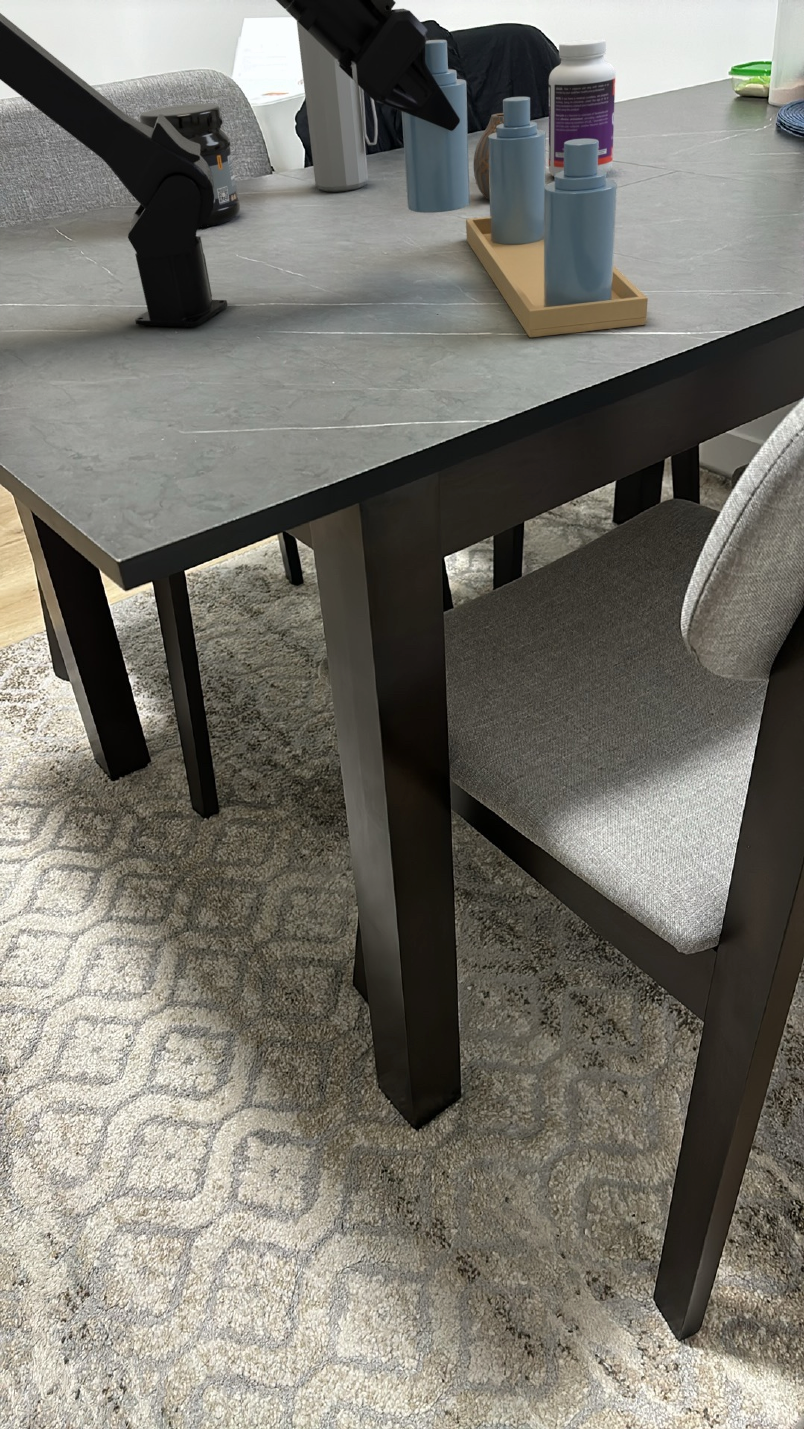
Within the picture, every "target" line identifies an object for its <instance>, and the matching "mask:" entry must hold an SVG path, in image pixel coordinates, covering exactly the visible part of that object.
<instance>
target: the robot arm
mask: <svg viewBox="0 0 804 1429" xmlns="http://www.w3.org/2000/svg"><path fill="white" fill-rule="evenodd" d="M275 1H276V2H277V3H278V4H279V5H280V6H281V7H282V8H283V9H284V10H285V11H286V12H287V13H288V14H289V15H290V16H291V17H292V18H293V19H294V20H295V21H296V23H297V22H298V23H300V24H301V25H302V26H303V27H304V28H305V29H306V30H307V31H308V32H309V33H310V34H311V35H312V36H313V37H314V38H315V39H316V40H317V41H318V42H319V43H320V44H321V45H322V46H323V47H324V48H325V49H326V50H327V51H328V52H329V53H330V54H331V55H332V56H333V57H334V58H335V59H336V64H337V65H338V66H339V67H340V68H341V69H342V70H343V71H344V72H345V73H346V74H347V75H348V76H350V77H351V78H352V79H353V80H354V81H355V82H356V83H357V84H358V85H359V86H360V87H361V88H362V89H363V92H364V93H366V94H367V95H368V96H369V98H370V97H371V98H372V99H373V100H374V103H376V102H377V103H378V104H382V105H385V106H387V107H390V108H392V109H395V110H397V111H399V112H401V113H402V112H405V113H407V114H410V115H412V116H415V117H418V118H420V119H423V120H425V121H428V122H430V123H433V124H435V125H438V126H440V127H443V128H445V129H447V130H450V131H453V130H454V129H455V128H456V127H457V125H458V124H459V123H460V118H459V117H458V115H457V114H456V112H455V110H454V109H453V107H452V106H451V104H450V102H449V101H448V99H447V98H446V96H445V95H444V93H443V91H442V90H441V88H440V87H439V85H438V83H437V82H436V80H435V79H434V77H433V75H432V74H431V72H430V71H429V69H428V67H427V65H426V53H425V44H426V41H427V32H428V28H427V27H426V26H425V25H424V24H423V23H422V22H421V21H420V19H418V18H417V16H416V15H415V14H413V12H412V11H411V10H409V9H406V8H394V6H395V5H396V4H397V3H396V1H395V0H275ZM393 8H394V9H393ZM0 81H2V83H4V84H5V85H6V86H8V87H9V88H11V89H12V90H13V91H14V92H15V93H17V94H18V95H19V96H20V97H21V98H23V99H24V100H25V101H27V102H29V104H31V105H32V106H33V107H34V108H36V109H37V110H39V111H40V112H41V113H43V114H44V115H45V116H46V117H48V118H49V119H51V120H52V121H53V122H54V123H55V124H57V125H58V126H59V127H61V129H63V130H64V131H66V132H67V133H68V134H70V135H71V136H72V137H73V138H75V139H76V140H77V141H79V142H80V143H81V144H82V145H84V146H85V147H86V148H88V149H89V150H90V151H91V152H92V153H94V154H95V155H97V156H98V157H99V158H101V160H102V161H104V163H105V164H106V165H107V166H108V167H109V169H110V170H111V171H112V172H113V173H114V175H115V176H116V177H117V179H118V180H119V181H120V182H121V183H122V185H123V186H124V187H125V188H126V190H127V191H128V193H129V194H131V196H132V197H133V198H134V199H135V200H136V201H137V203H139V205H138V207H137V209H136V210H135V211H134V213H133V216H132V219H131V224H130V226H129V231H128V235H127V239H128V241H129V242H130V244H131V246H132V247H133V250H134V251H135V254H134V255H135V260H136V265H137V269H138V274H139V278H140V282H141V287H142V291H143V296H144V300H145V305H146V310H147V311H146V312H144V313H142V314H141V315H139V316H137V317H136V318H135V320H134V321H135V325H137V326H156V327H157V326H163V327H192V328H193V327H199V326H200V325H201V324H203V323H204V322H206V321H208V320H209V319H210V318H212V317H213V316H215V315H217V314H218V313H219V312H221V311H223V310H224V309H225V308H226V307H228V305H229V304H228V301H227V300H226V299H213V294H212V289H211V288H212V287H211V284H210V278H209V272H208V267H207V262H206V261H207V260H206V255H205V253H204V248H203V243H202V237H201V236H200V235H197V232H198V229H200V228H199V227H201V226H202V225H203V224H204V223H205V222H206V221H207V220H208V219H209V217H210V215H211V212H212V210H213V205H214V182H213V176H212V172H211V169H210V167H209V165H208V164H207V162H206V161H205V160H204V159H203V157H202V156H201V155H200V144H198V143H195V142H192V141H190V140H188V139H186V138H185V137H183V136H182V135H181V134H180V133H179V132H178V131H177V130H176V129H175V128H174V127H173V126H172V124H171V123H170V122H169V121H168V120H167V119H166V118H165V117H164V116H163V115H162V114H160V115H159V116H158V119H157V121H156V124H155V127H154V128H152V127H149V126H147V125H145V124H143V123H141V122H140V120H136V119H135V118H133V117H131V116H129V115H128V114H126V113H125V112H123V111H122V110H121V109H120V108H119V107H117V106H116V105H114V104H113V103H112V102H111V101H110V100H109V99H108V98H106V97H105V96H104V95H102V94H101V93H100V92H99V91H98V90H96V89H95V88H94V87H92V85H90V84H89V83H87V81H85V80H84V79H83V78H81V76H79V75H78V74H77V73H75V72H74V71H73V70H72V69H71V68H69V67H68V66H67V65H66V64H64V63H63V62H61V60H59V59H58V58H57V57H55V56H54V55H53V54H52V53H51V52H49V51H48V50H47V49H45V47H43V46H42V45H41V44H40V43H38V42H37V41H36V40H34V39H33V38H32V37H31V36H30V35H28V34H27V33H26V32H24V31H23V30H22V29H21V28H20V27H18V26H17V25H16V24H15V23H13V22H12V21H11V20H10V19H8V17H6V16H5V15H4V14H2V13H1V12H0ZM201 228H202V227H201Z"/></svg>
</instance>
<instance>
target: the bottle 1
mask: <svg viewBox="0 0 804 1429" xmlns="http://www.w3.org/2000/svg"><path fill="white" fill-rule="evenodd" d="M502 113H503V124H500V125H498V126H496V133H493V134H490V135H489V136H488V148H489V191H490V200H489V217H490V233H491V241H492V242H494V243H498V244H506V245H518V244H527V243H533V242H536V241H539V240H541V239H543V238H544V187H545V186H546V153H547V152H546V150H547V149H546V148H547V147H546V143H547V142H546V141H547V139H546V136H547V134H546V133H547V132H546V131H545V130H543V129H538V123H537V122H536V121H531V97H530V96H511V97H506V98H504V99H503V100H502Z"/></svg>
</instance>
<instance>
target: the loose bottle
mask: <svg viewBox="0 0 804 1429" xmlns="http://www.w3.org/2000/svg"><path fill="white" fill-rule="evenodd" d="M425 53H426V65H427V67H428V69H429V71H430V72H431V74H432V75H433V77H434V79H435V80H436V82H437V83H438V85H439V87H440V88H441V90H442V91H443V93H444V95H445V96H446V98H447V99H448V101H449V102H450V104H451V106H452V107H453V109H454V110H455V112H456V114H457V115H458V117H459V118H460V123H459V124H458V125H457V127H456V128H455V129H454V130H453V131H450V130H447V129H445V128H443V127H440V126H438V125H435V124H433V123H430V122H428V121H425V120H423V119H420V118H418V117H415V116H412V115H410V114H407V113H405V112H402V111H401V121H402V136H403V152H404V153H403V154H404V167H405V185H406V199H407V200H406V201H407V209H408V210H409V211H411V212H415V213H426V214H430V213H435V214H436V213H447V212H452V211H458V210H461V209H465V208H466V207H468V206H469V205H470V204H471V203H470V202H471V201H470V199H471V198H470V171H469V170H470V166H469V135H468V104H467V103H468V102H467V98H468V97H467V80H465V79H461V78H457V70H456V69H451V68H449V66H448V64H449V63H448V41H447V40H446V39H431V40H430V39H429V40H426V44H425Z"/></svg>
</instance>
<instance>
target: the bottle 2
mask: <svg viewBox="0 0 804 1429" xmlns="http://www.w3.org/2000/svg"><path fill="white" fill-rule="evenodd" d="M598 146H599V141H598V140H596V139H574V140H569V141H566V142H565V143H564V171H561V172H559V173H556V174H555V176H553V177H554V180H553V181H552V182H549V183H547V184H545V187H544V287H543V307H552V306H561V305H570V304H579V303H588V302H597V301H606V300H612V281H613V265H614V256H615V235H616V234H615V232H616V231H615V230H616V211H617V188H618V183H617V181H615V180H613V179H610V178H607V177H608V176H607V175H608V173H607V172H606V171H604V170H601V169H598Z"/></svg>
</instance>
